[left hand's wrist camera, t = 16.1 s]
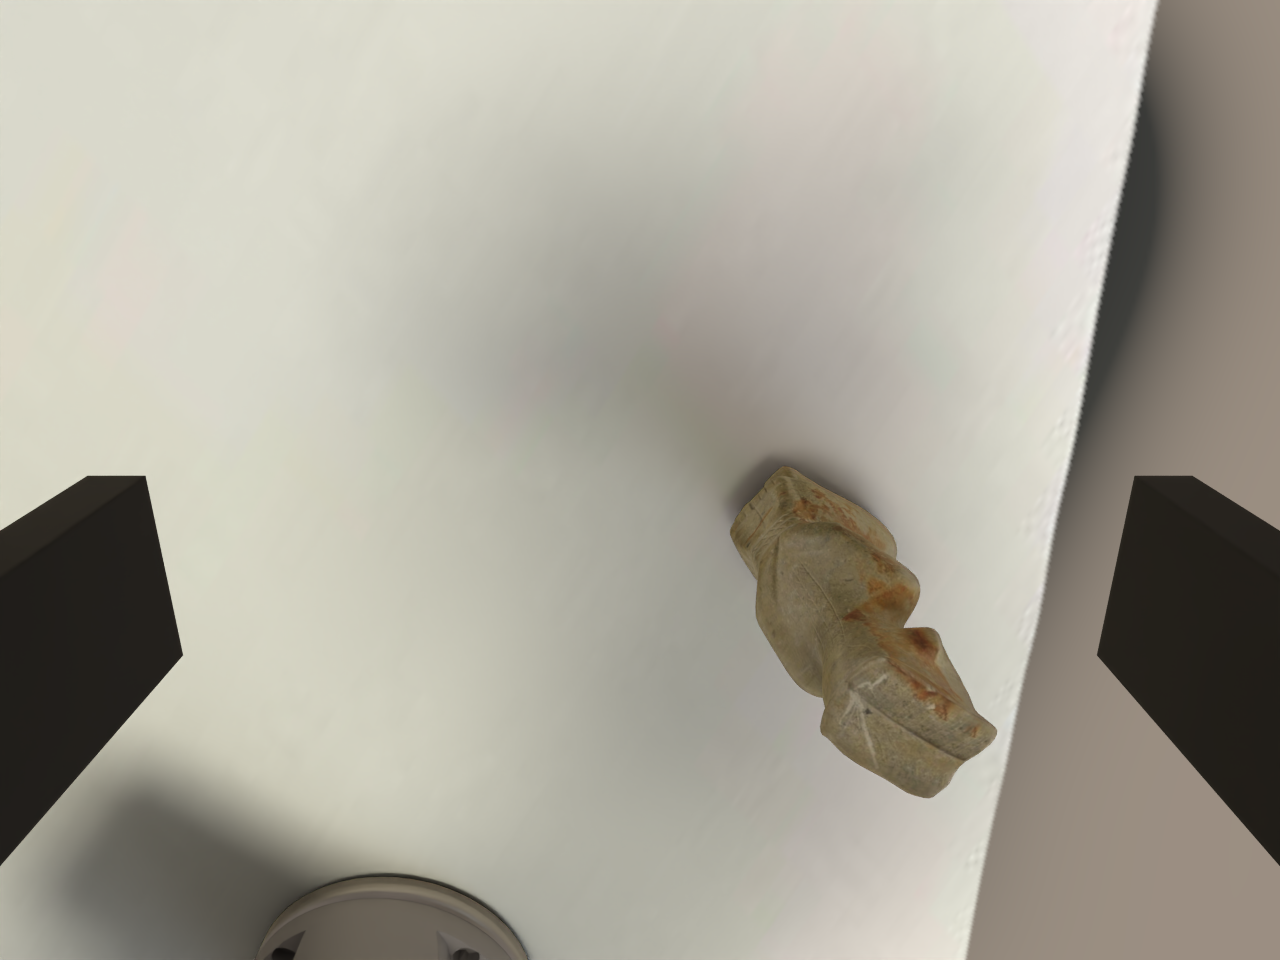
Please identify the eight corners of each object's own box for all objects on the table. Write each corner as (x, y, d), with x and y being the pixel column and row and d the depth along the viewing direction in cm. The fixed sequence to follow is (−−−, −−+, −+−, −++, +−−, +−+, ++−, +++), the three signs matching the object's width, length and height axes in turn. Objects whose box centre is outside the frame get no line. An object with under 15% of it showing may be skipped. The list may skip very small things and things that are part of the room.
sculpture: (817, 612, 42) (905, 850, 28) (701, 520, 41) (734, 725, 27) (908, 524, 41) (1048, 732, 27) (792, 425, 39) (877, 591, 25)
